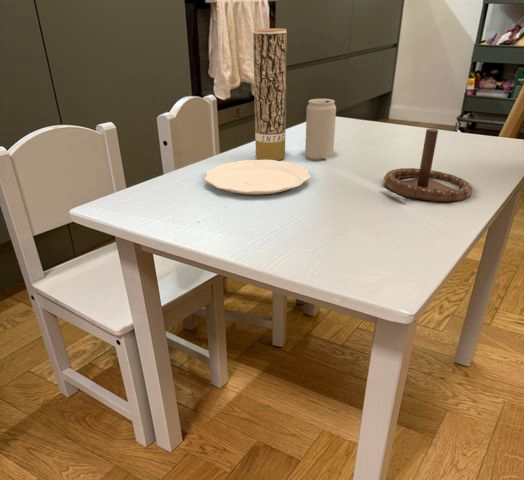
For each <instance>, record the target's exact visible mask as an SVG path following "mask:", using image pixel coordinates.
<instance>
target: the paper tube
mask: <svg viewBox="0 0 524 480" xmlns="http://www.w3.org/2000/svg"><path fill="white" fill-rule="evenodd" d="M287 34H288V32H287V28H256V29H253V31H252V40H253V41H252V46H253V47H252V48H253V90H254V91H253V92H254V138H255V141H254V142H255V157H256V158H257V160H276V161H280V160H283V159H284V158H285V156H286V124H287V123H286V120H287V112H286V111H287V48H288V47H287V42H288V41H287V38H288V35H287Z"/></svg>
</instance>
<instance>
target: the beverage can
mask: <svg viewBox="0 0 524 480" xmlns="http://www.w3.org/2000/svg"><path fill="white" fill-rule="evenodd" d="M335 102H336V100H335V99H332V98H313V99H309V100H308V104H307V106H306V119H305V120H306V121H305V151H304V153H305V154H304V155H305V156H306V157H307V158H308V159H309V160H311V161H318V162H319V161H327V160H328V159H327V157H328V158H329V157H332V156H334V149H335V147H334V146H335V131H336V116H337V106H336V104H335Z"/></svg>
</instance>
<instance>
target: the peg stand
mask: <svg viewBox="0 0 524 480" xmlns="http://www.w3.org/2000/svg"><path fill="white" fill-rule="evenodd" d="M425 130H426V131H425V136H424V143H423V149H422V154H421V160H420V166H419V169H420V171H419V177H418V178H411V179H405V180H401V181H402V182H404V183H408V184H411V185H415V186H419V187H425V188H430V189H440V190H457V188H453V187H451V186H448V185H446V184H443V183H442V182H439V181H437V180H435V179H430V173H431V170H432V167H433V162H434V156H435V150H436V145H437V139H438V134H439V129H437V128H427V129H425ZM387 190H388V191H390V192H392V193H394V194H396V195H398V196H399V197H402V198H403V199H406V200H408V199H409V198H408V197H407V196H406V197H405V195H402V194H400V193H397V192H395V191H393V190H392V189H390V188H388V189H387ZM416 199H417V200H419V199H418V198H416Z"/></svg>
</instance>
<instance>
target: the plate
mask: <svg viewBox="0 0 524 480" xmlns="http://www.w3.org/2000/svg"><path fill="white" fill-rule="evenodd" d="M310 179H311V175H310V173H309V169H307V168H306V167H304V166H300V165H298V164H297V163H295V162H290V161H280V160H260V159H244V160H237V161H233V162H226V163H221V164H219V165H217V166H215V167H213V168H211V169H209V170H207V171H206V172H205V177H204V181H205V182H206V183H208V184H210V185H212V186H213V187H214V188H217V189H219V190H225V191H227V192H229V193H233V194H239V195H247V196H249V195H251V196H252V195H254V196H259V195H260V196H261V195H262V196H263V195H272V194H278V193H282V192H286V191H288V190H291V189H294V188H297V187H300V186H301V185H302V184H303V183H306V182H307V181H309V180H310Z"/></svg>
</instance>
